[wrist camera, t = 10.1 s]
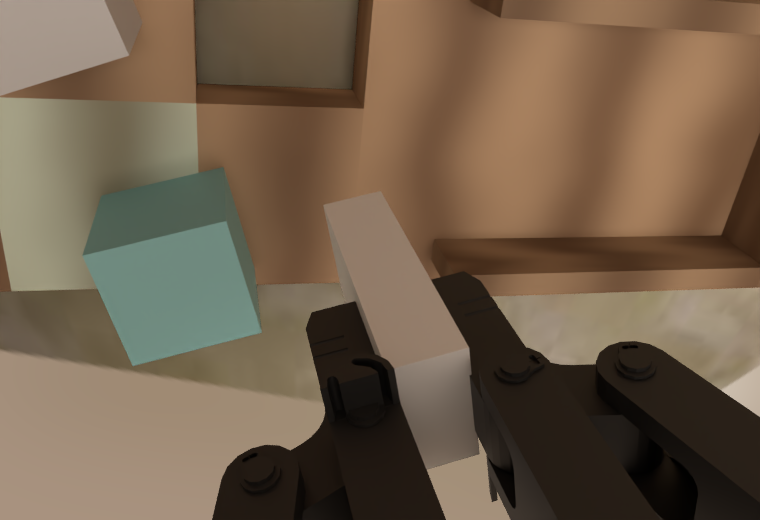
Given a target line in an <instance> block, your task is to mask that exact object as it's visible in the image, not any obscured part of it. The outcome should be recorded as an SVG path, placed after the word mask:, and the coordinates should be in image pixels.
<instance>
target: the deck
mask: <svg viewBox="0 0 760 520" xmlns="http://www.w3.org/2000/svg"><path fill="white" fill-rule="evenodd" d="M133 1H134V4H135V6H136V8H137V11H138V13H139V15H140V18H141V20H142V25H141V27H140V30H139V32H138V35H137V37H136V40H135V42H134V45H133V47H132V50H131V52H130V55H129V56H126V57H123V58H120V59H117V60H113V61H110V62H107V63H104V64H101V65H97V66H94V67H91V68H88V69H84V70H81V71H78V72H75V73H72V74H68V75H65V76H62V77H59V78H56V79H52V80H49V81H46V82H43V83H40V84H36V85H33V86H30V87H27V88H24V89H20V90H17V91H14V92H11V93H8V94H4V95H1V96H0V292H4V291H40V290H77V289H97V287H96V285H95V282H94V280H93V278H92V276H91V274H90V272H89V269H88V267H87V265H86V263H85V261H84V258H83V256H82V255H83V252H84V249H85V246H86V242H87V239H88V236H89V233H90V230H91V227H92V224H93V220H94V217H95V214H96V211H97V208H98V205H99V201H100V198H101V196H102V195H106V194H110V193H115V192H119V191H123V190H127V189H132V188H136V187H140V186H145V185H149V184H153V183H157V182H162V181H166V180H170V179H174V178H179V177H183V176H187V175H191V174H196V173H200V172H204V171H208V170H213V169H217V168H221V167H224V170H225V173H226V177H227V180H228V183H229V186H230V190H231V193H232V196H233V200H234V203H235V206H236V209H237V213H238V216H239V219H240V222H241V226H242V229H243V232H244V235H245V239H246V242H247V245H248V249H249V252H250V255H251V258H252V262H253V265H254V268H255V277H256V285H262V284H298V283H335V282H340V281H339V276H338V271H337V267H336V262H335V257H334V253H333V248H332V243H331V239H330V234H329V230H328V225H327V220H326V216H325V211H324V206H323V205H325V204H329V203H333V202H337V201H341V200H345V199H349V198H354V197H358V196H362V195H366V194H370V193H374V192H378V191H381V192H382V194H383V196H384V198H385V200H386V201H387V203H388V205H389V207H390V208H391V210H392V212H393V214H394V216H395V217H396V219H397V221H398V223H399V224H400V226H401V228H402V230H403V231H404V233H405V235H406V237H407V239H408V240H409V242H410V244H411V246H412V247H413V249H414V251H415V253H416V254H417V256H418V258H419V260H420V262H421V263H422V265H423V267H424V269H425V270H426V272H427V274H428V276H429V278H430V279H435V278H439V277H443V276H447V275H451V274H454V273H458V272H462V271H465V272H466V273H468V274H470V275H471V276H473V277H475V278H477V279H478V280H480V281H481V282H482V284H483V285H484V286H485V288H486V289H487V291H488V292H489V294H490V296H516V295H546V294H576V293H606V292H636V291H665V290H695V289H725V288H755V287H760V0H359V7H358V19H357V32H356V45H355V58H354V71H353V84H352V90H349V89H323V88H296V87H270V86H243V85H216V84H197V61H196V28H195V0H133Z"/></svg>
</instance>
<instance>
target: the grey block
mask: <svg viewBox="0 0 760 520" xmlns="http://www.w3.org/2000/svg"><path fill="white" fill-rule="evenodd" d="M141 25H142V20H141V18H140V15H139V13H138V11H137V8H136V6H135V4H134V1H133V0H0V96H1V95H4V94H8V93H11V92H14V91H17V90H20V89H24V88H27V87H30V86H33V85H36V84H40V83H43V82H46V81H49V80H52V79H56V78H59V77H62V76H65V75H68V74H72V73H75V72H78V71H81V70H84V69H88V68H91V67H94V66H97V65H101V64H104V63H107V62H110V61H113V60H117V59H120V58H123V57H126V56H129V55H130V52H131V50H132V47H133V45H134V42H135V40H136V37H137V35H138V32H139V30H140V27H141Z"/></svg>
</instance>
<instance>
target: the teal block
mask: <svg viewBox="0 0 760 520" xmlns="http://www.w3.org/2000/svg"><path fill="white" fill-rule="evenodd" d="M82 256H83V258H84V261H85V263H86V265H87V267H88V269H89V272H90V274H91V276H92V278H93V280H94V282H95V285H96V287H97V289H98V291H99V293H100V296H101V298H102V300H103V302H104V304H105V306H106V309H107V311H108V313H109V315H110V317H111V320H112V322H113V324H114V326H115V328H116V331H117V333H118V335H119V337H120V339H121V341H122V344H123V346H124V348H125V350H126V352H127V355H128V357H129V359H130V361H131V363H132V365H133V366H135V365H139V364H143V363H147V362H150V361H154V360H158V359H162V358H166V357H170V356H174V355H177V354H181V353H185V352H189V351H193V350H197V349H201V348H204V347H208V346H212V345H216V344H220V343H224V342H228V341H231V340H235V339H239V338H243V337H247V336H251V335H255V334H258V333H262V331H261V322H260V313H259V304H258V295H257V286H256V277H255V268H254V265H253V262H252V258H251V255H250V252H249V249H248V245H247V242H246V239H245V235H244V232H243V229H242V226H241V222H240V219H239V216H238V213H237V209H236V206H235V203H234V200H233V196H232V193H231V190H230V186H229V183H228V180H227V177H226V173H225V170H224V167H221V168H217V169H213V170H208V171H204V172H200V173H196V174H191V175H187V176H183V177H179V178H174V179H170V180H166V181H162V182H157V183H153V184H149V185H145V186H140V187H136V188H132V189H127V190H123V191H119V192H115V193H110V194H106V195H102V196H101V198H100V201H99V205H98V208H97V211H96V214H95V217H94V220H93V224H92V227H91V230H90V233H89V236H88V239H87V242H86V246H85V249H84V252H83V255H82Z"/></svg>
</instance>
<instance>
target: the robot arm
mask: <svg viewBox="0 0 760 520" xmlns="http://www.w3.org/2000/svg"><path fill="white" fill-rule="evenodd" d="M323 206H324V211H325V216H326V220H327V225H328V230H329V234H330V239H331V243H332V248H333V253H334V257H335V262H336V267H337V271H338V276H339V281H340V285H341V290H342V294H343V297H344V299H345V302H346V304H342V305H338V306H335V307H331V308H327V309H323V310H319V311H315V312H312V313H311V316H310V318H309V321H308V324H307V327H306V332H307V336H308V340H309V344H310V348H311V352H312V356H313V360H314V364H315V368H316V372H317V376H318V380H319V384H320V390H321V394H322V398H323V402H324V406H325V417H324V420H323V422H322V424H321V426H320V428H319V429H318V430H317V431H316V433H315V434H314V435H313V436H312V437H311V438H309V439H308V440H307V441H305V442H304V443H302V444H301V445H299V446H297V447H296V448H294V449H292V450H291V451H290V450H288V449H286V448H283V447H281V446H275V445H264V446H259V447H256V448H252V449H250V450H248V451H246V452H244V453H243V454H241V455H239V456H237V458H236V459H235V460H234V461H233V462H232V463H231V464H230V465H229V466H228V467H227V469H226V471H225V473H224V475H223V477H222V480H221V484H220V488H219V493H218V497H217V501H216V505H215V510H214V514H213V518H212V520H446V519H445V516H444V513H443V511H442V508H441V506H440V503H439V501H438V498H437V495H436V493H435V490H434V489H433V485H432V483H431V480H430V478H429V475H428V472H427V469H431V468H434V467H437V466H441V465H444V464H447V463H451V462H454V461H458V460H461V459H464V458H468V457H471V456H475V455H478V454H479V444H478V438H479V440H480V442H481V443H482V446H483V448H484V450H485V452H486V454H487V465H488V476H489V487H490V494H491V499H492V502H493V501H496V500H497V492H498V494H499V496H500V498H501V500H502V503H503V505H504V507H505V509H506V511H507V513H508V515H509V517H510V519H511V520H760V417H759V416H757V415H756V414H754V413H753V412H752V411H750V410H749V409H747V408H746V407H744V406H743V405H741V404H740V403H738V402H737V401H736V400H734V399H733V398H731V397H730V396H728V395H727V394H725V393H724V392H722V391H721V390H720V389H718V388H717V387H715V386H714V385H712V384H711V383H709V382H708V381H706V380H705V379H703V378H702V377H701V376H699V375H698V374H696V373H695V372H693V371H692V370H690V369H689V368H687V367H686V366H685V365H683V364H682V363H680V362H679V361H677V360H676V359H674V358H673V357H671V356H670V355H668V354H667V353H666V352H664V351H663V350H661V349H659V348H656V347H654V346H652V345H650V344H646V343H641V342H636V341H631V342H619V343H616V344H613V345H609V346H608V347H606V348H605V349H604V350H602V351H601V352H600V353H599V356H598V358H597V360H596V364H593V365H559V364H554V363H550V362H549V360H548V359H547V358H545V357H544V356H543V355H542V354H541V353H540V352H537V351H535V350H532V349H530V348H526V347H525V345H524V344H523V343H522V341H521V340H520V338H519V337H518V335H517V334H516V332H515V331H514V329H513V328H512V326H511V325H510V323H509V322H508V320H507V319H506V317H505V316H504V315H503V313H502V312H501V310H500V309H499V308H498V306H497V304H496V303H495V301H494V300H493V298H492V297H490V294H489V292H488V291H487V289H486V288H485V286H484V285H483V284H482V282H481V281H480V280H478V279H477V278H475V277H473V276H471V275H470V274H468V273H466V272H465V271H462V272H458V273H454V274H451V275H447V276H443V277H439V278H435V279H430V278H429V276H428V274H427V272H426V270H425V269H424V267H423V265H422V263H421V262H420V260H419V258H418V256H417V254H416V253H415V251H414V249H413V247H412V246H411V244H410V242H409V240H408V239H407V237H406V235H405V233H404V231H403V230H402V228H401V226H400V224H399V223H398V221H397V219H396V217H395V216H394V214H393V212H392V210H391V208H390V207H389V205H388V203H387V201H386V200H385V198H384V196H383V194H382V192H381V191H378V192H374V193H370V194H366V195H362V196H358V197H354V198H349V199H345V200H341V201H337V202H333V203H329V204H325V205H323Z"/></svg>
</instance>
